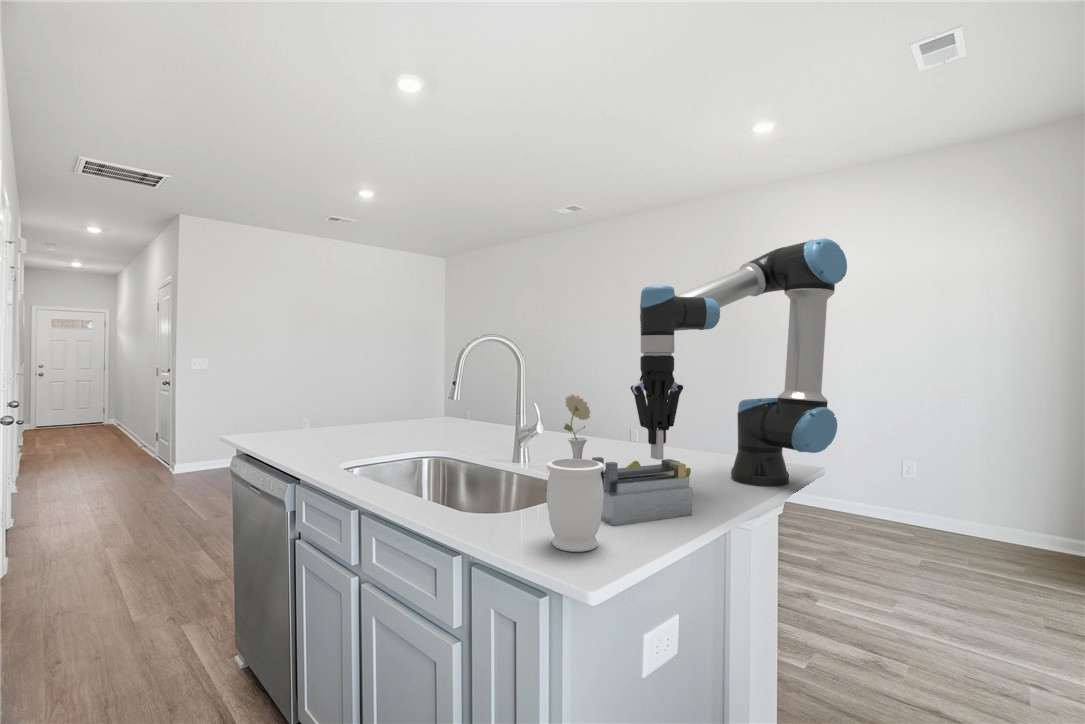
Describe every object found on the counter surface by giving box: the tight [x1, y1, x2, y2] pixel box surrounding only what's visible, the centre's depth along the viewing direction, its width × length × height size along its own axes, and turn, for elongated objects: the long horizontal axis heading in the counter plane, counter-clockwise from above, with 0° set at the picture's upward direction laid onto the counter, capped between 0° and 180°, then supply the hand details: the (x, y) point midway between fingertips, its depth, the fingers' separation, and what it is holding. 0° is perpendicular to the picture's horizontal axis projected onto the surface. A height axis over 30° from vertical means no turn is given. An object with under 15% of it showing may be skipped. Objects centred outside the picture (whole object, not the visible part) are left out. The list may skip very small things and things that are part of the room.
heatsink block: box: [591, 456, 694, 527], centre depth 119 cm, size 20×14×12 cm
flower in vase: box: [563, 393, 591, 459], centre depth 136 cm, size 13×11×25 cm
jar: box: [546, 458, 605, 553], centre depth 98 cm, size 11×10×15 cm
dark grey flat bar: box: [604, 458, 681, 477], centre depth 120 cm, size 18×4×2 cm, turn 113°
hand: (657, 458), depth 122 cm, fingers closed
